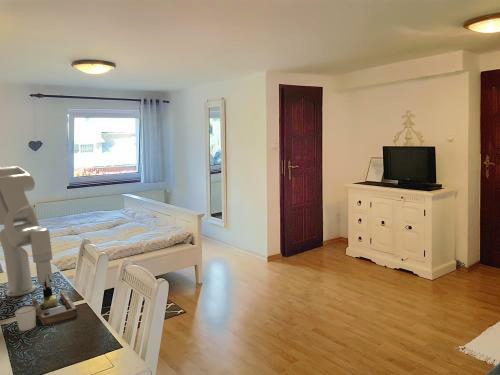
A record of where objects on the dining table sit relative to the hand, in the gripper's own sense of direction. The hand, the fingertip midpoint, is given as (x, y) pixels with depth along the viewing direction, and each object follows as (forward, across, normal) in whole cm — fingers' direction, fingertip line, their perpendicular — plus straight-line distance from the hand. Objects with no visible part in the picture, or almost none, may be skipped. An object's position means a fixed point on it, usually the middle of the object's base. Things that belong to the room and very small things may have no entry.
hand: (48, 297), depth 178 cm
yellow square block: (+2, +5, 0) cm, 5 cm away
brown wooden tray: (+2, +13, 0) cm, 13 cm away
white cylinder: (+2, +23, -11) cm, 26 cm away
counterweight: (+2, +21, 0) cm, 22 cm away
